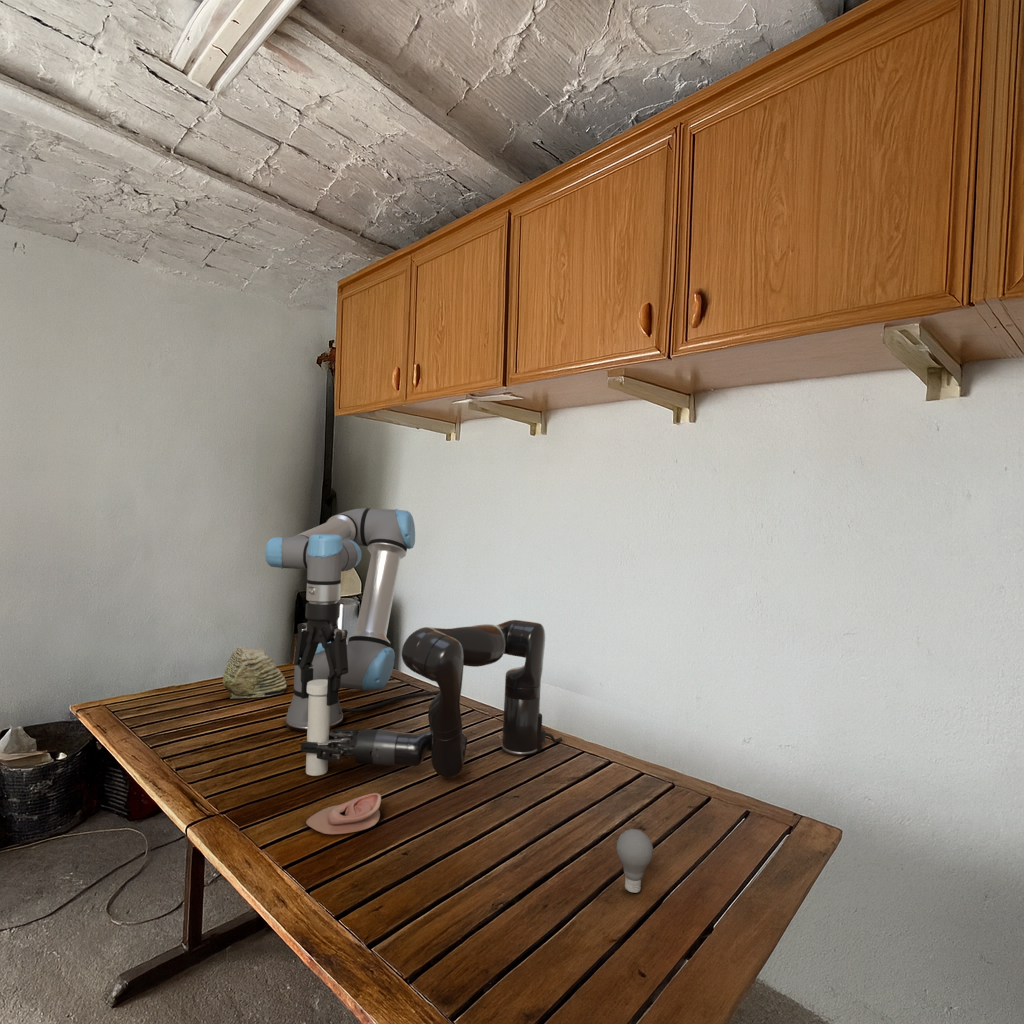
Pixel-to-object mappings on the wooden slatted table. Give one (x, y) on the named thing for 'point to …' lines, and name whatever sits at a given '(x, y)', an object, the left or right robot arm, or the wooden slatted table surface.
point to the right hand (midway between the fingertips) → (306, 742)
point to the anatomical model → (347, 816)
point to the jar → (317, 732)
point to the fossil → (252, 674)
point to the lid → (317, 687)
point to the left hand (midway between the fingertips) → (319, 700)
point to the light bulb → (634, 857)
